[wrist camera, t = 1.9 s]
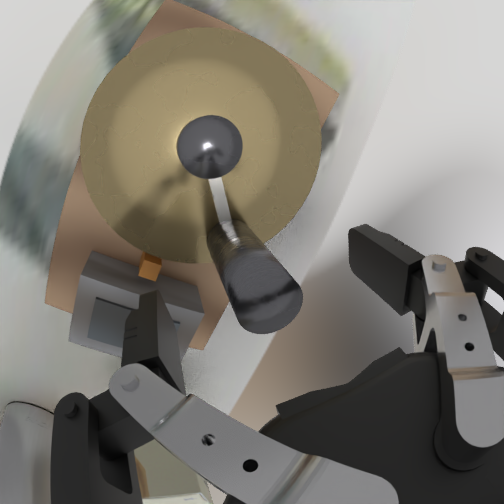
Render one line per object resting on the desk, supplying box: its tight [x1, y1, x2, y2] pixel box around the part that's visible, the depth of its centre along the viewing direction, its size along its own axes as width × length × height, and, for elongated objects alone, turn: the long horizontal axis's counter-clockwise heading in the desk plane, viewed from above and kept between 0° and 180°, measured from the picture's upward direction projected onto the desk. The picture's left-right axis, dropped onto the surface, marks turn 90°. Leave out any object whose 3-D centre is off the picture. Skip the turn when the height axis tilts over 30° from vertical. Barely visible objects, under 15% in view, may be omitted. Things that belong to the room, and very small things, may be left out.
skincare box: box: [134, 439, 213, 504], centre depth 17 cm, size 6×4×12 cm
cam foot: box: [80, 27, 321, 334], centre depth 11 cm, size 12×12×8 cm
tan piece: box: [45, 0, 339, 361], centre depth 15 cm, size 20×12×5 cm, turn 151°
